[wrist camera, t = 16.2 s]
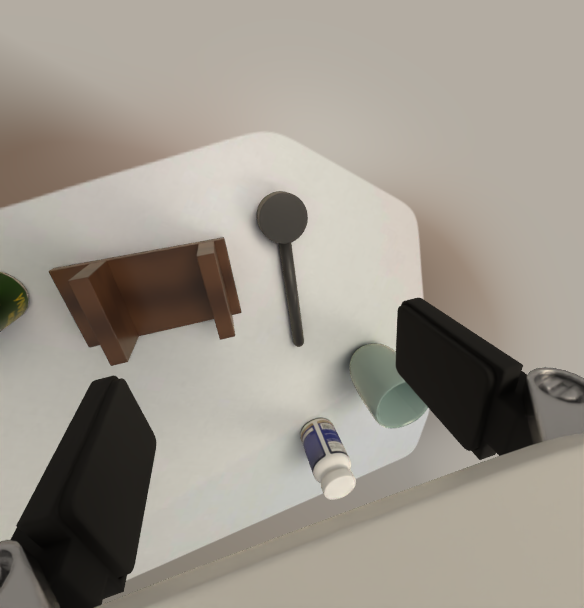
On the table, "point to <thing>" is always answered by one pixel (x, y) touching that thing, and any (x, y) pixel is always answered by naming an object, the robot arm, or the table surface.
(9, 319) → the beer can
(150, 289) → the rack
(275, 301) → the table surface
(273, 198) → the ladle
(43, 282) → the table surface
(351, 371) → the cup
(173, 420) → the table surface
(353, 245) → the table surface
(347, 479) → the pill bottle
